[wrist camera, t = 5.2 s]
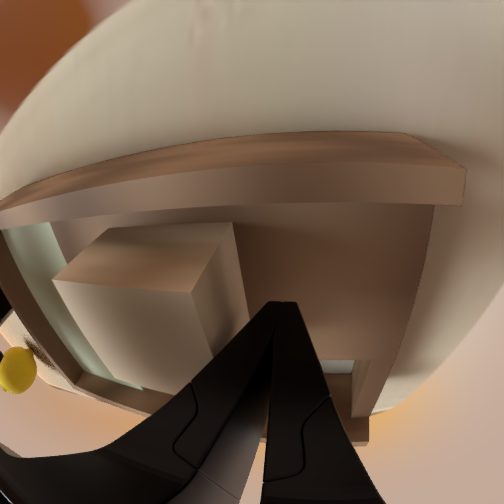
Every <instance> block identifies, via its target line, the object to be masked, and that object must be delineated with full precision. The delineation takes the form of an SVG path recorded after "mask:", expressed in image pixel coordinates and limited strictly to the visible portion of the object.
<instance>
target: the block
mask: <svg viewBox="0 0 504 504" xmlns="http://www.w3.org/2000/svg"><path fill="white" fill-rule="evenodd" d="M52 281H53V283H54V285H55V287H56V288H57V290H58V292H59V294H60V296H61V298H62V299H63V301H64V303H65V305H66V306H67V308H68V310H69V312H70V313H71V315H72V317H73V318H74V320H75V321H76V323H77V325H78V326H79V328H80V329H81V331H82V333H83V334H84V336H85V337H86V339H87V340H88V342H89V343H90V345H91V346H92V348H93V349H94V350H95V352H96V353H97V355H98V356H99V358H100V359H101V360H102V362H103V363H104V364H105V366H106V367H107V368H108V370H109V371H110V372H111V374H112V375H113V376H114V378H115V379H118V380H121V381H124V382H128V383H131V384H134V385H138V386H141V387H145V388H149V389H152V390H156V391H160V392H164V393H168V394H172V395H176V394H177V393H178V392H179V391H180V390H181V389H182V388H183V387H184V386H185V385H186V384H187V383H188V382H191V380H192V379H193V378H194V377H195V376H196V375H197V374H198V373H199V372H200V371H201V370H202V369H203V368H204V367H205V366H206V365H207V364H208V363H209V362H210V361H211V360H212V359H213V358H214V357H215V356H216V355H217V354H218V353H219V352H220V351H221V350H222V349H223V348H224V347H225V346H226V345H227V344H228V342H229V341H230V340H231V339H232V338H233V337H234V336H235V335H236V334H237V333H238V332H239V331H240V330H241V329H242V328H243V327H244V326H245V325H246V324H247V323H248V322H249V321H250V318H249V313H248V308H247V302H246V297H245V292H244V286H243V281H242V275H241V270H240V264H239V258H238V253H237V247H236V242H235V236H234V230H233V225H232V222H217V223H191V224H169V225H150V226H133V227H117V228H108V229H107V230H106V231H104V232H103V233H102V234H101V235H100V236H99V237H97V238H96V239H95V240H94V241H93V242H92V243H91V244H89V245H88V246H87V247H86V248H85V249H84V250H83V251H82V252H80V253H79V254H78V255H77V256H76V257H75V258H74V259H73V260H72V261H71V262H70V263H69V264H67V265H66V266H65V267H64V268H63V269H62V270H61V271H60V272H59V273H58V274H57V275H56V276H55V277H54V278H53V279H52Z"/></svg>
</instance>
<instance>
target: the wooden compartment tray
mask: <svg viewBox="0 0 504 504" xmlns="http://www.w3.org/2000/svg"><path fill="white" fill-rule="evenodd" d="M465 177H466V169H465V168H463V167H462V166H460V165H459V164H457V163H456V162H454V161H452V160H451V159H449V158H448V157H446V156H444V155H443V154H441V153H439V152H438V151H436V150H434V149H433V148H431V147H429V146H427V145H426V144H424V143H422V142H420V141H418V140H417V139H415V138H413V137H411V136H409V135H407V134H405V133H391V132H369V131H312V132H289V133H273V134H261V135H250V136H240V137H231V138H223V139H215V140H208V141H201V142H194V143H188V144H182V145H176V146H171V147H165V148H160V149H155V150H150V151H145V152H140V153H136V154H131V155H127V156H123V157H119V158H115V159H111V160H107V161H103V162H99V163H95V164H92V165H88V166H85V167H81V168H78V169H75V170H71V171H68V172H65V173H62V174H59V175H56V176H53V177H50V178H47V179H44V180H41V181H38V182H35V183H33V184H30V185H27V186H25V187H22V188H20V189H19V190H17V191H15V192H14V193H12V194H10V195H9V196H7V197H5V198H4V199H2V200H1V201H0V287H1V289H2V291H3V292H4V294H5V296H6V298H7V299H8V301H9V303H10V304H11V306H12V308H13V309H14V311H15V312H16V314H17V316H18V317H19V319H20V320H21V322H22V323H23V325H24V326H25V328H26V329H27V331H28V332H29V333H30V335H31V336H32V338H33V339H34V340H35V342H36V343H37V345H38V346H39V347H40V349H41V350H42V351H43V352H44V354H45V355H46V356H47V358H48V359H49V360H50V361H51V363H52V364H53V365H54V366H55V367H56V369H57V370H58V371H59V372H60V373H61V375H62V376H63V377H64V378H65V379H66V380H67V381H68V383H69V384H70V385H71V386H72V387H73V388H74V389H76V390H78V391H80V392H83V393H85V394H87V395H89V396H92V397H94V398H96V399H99V400H101V401H104V402H106V403H108V404H111V405H114V406H116V407H119V408H122V409H125V410H127V411H130V412H133V413H136V414H139V415H142V416H145V417H149V416H151V415H152V414H153V413H154V412H156V411H157V410H158V409H159V408H161V407H162V406H163V405H165V404H166V403H167V402H168V401H169V400H170V399H171V398H172V397H174V396H175V395H172V394H168V393H164V392H160V391H156V390H152V389H149V388H145V387H141V386H138V385H134V384H131V383H128V382H124V381H121V380H118V379H115V378H114V376H113V375H112V374H111V372H110V371H109V370H108V368H107V367H106V366H105V364H104V363H103V362H102V360H101V359H100V358H99V356H98V355H97V353H96V352H95V350H94V349H93V348H92V346H91V345H90V343H89V342H88V340H87V339H86V337H85V336H84V334H83V333H82V331H81V329H80V328H79V326H78V325H77V323H76V321H75V320H74V318H73V317H72V315H71V313H70V312H69V310H68V308H67V306H66V305H65V303H64V301H63V299H62V298H61V296H60V294H59V292H58V290H57V288H56V287H55V285H54V283H53V281H52V279H53V278H54V277H55V276H56V275H57V274H58V273H59V272H60V271H61V270H62V269H63V268H64V267H65V266H66V265H67V264H69V263H70V262H71V261H72V260H73V259H74V258H75V257H76V256H77V255H78V254H79V253H80V252H82V251H83V250H84V249H85V248H86V247H87V246H88V245H89V244H91V243H92V242H93V241H94V240H95V239H96V238H97V237H99V236H100V235H101V234H102V233H103V232H104V231H106V230H107V229H108V228H117V227H133V226H150V225H169V224H191V223H217V222H232V225H233V230H234V236H235V242H236V247H237V253H238V258H239V264H240V270H241V275H242V281H243V286H244V292H245V297H246V302H247V308H248V313H249V318H250V320H251V319H252V317H253V316H254V315H255V314H256V313H257V312H258V311H259V310H260V309H261V308H262V307H263V306H264V305H265V304H266V303H267V302H268V301H282V302H283V301H295V302H297V304H298V306H299V309H300V311H301V314H302V317H303V319H304V322H305V324H306V327H307V330H308V332H309V335H310V338H311V340H312V343H313V346H314V348H315V351H316V354H317V357H318V359H319V360H355V361H354V365H353V370H352V374H324V376H325V378H326V381H327V384H328V387H329V390H330V392H331V397H333V400H334V403H335V406H336V409H337V411H338V414H339V416H340V419H341V421H342V424H343V426H344V428H345V431H346V433H347V435H348V437H349V439H350V441H351V443H352V445H353V447H356V446H366V445H367V444H368V442H369V416H370V414H371V412H372V410H373V408H374V406H375V404H376V402H377V400H378V398H379V395H380V393H381V391H382V389H383V387H384V384H385V382H386V380H387V377H388V375H389V372H390V370H391V368H392V365H393V363H394V360H395V357H396V355H397V352H398V349H399V347H400V344H401V341H402V338H403V335H404V332H405V329H406V326H407V323H408V320H409V317H410V314H411V311H412V307H413V304H414V300H415V297H416V293H417V289H418V286H419V282H420V278H421V274H422V270H423V265H424V261H425V256H426V251H427V246H428V241H429V236H430V230H431V224H432V218H433V211H434V204H435V205H454V206H462V200H463V193H464V185H465ZM267 426H268V416H267V419H266V423H265V426H264V429H263V433H262V436H261V439H260V442H263V443H266V438H267Z"/></svg>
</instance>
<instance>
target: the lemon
mask: <svg viewBox="0 0 504 504" xmlns="http://www.w3.org/2000/svg"><path fill="white" fill-rule="evenodd" d="M36 373H37V366H36V362H35V360H34V357H33V351H32V350H31V349H24V348H22V347H13V348H10V349H9V350H7V351H6V352H5V353H4V357H3V359H2V361H1V363H0V383H1V387H2V389H3V390H4V391H5V392H6V391H8V392H10V393H14V394H19V393H22V392H24V391H26V390H27V389H28V388H29V387H30V386H31V385H32V383H33V382H34V380H35V376H36Z"/></svg>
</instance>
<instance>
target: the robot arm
mask: <svg viewBox="0 0 504 504" xmlns="http://www.w3.org/2000/svg"><path fill="white" fill-rule="evenodd" d="M13 311H14V309H13V308H12V306H11V304H10V303H9V301H8V299H7V298H6V296H5V294H4V292H3V291H2V289H1V287H0V326H1V325H2V324H3V323H4V322H5V320H6V319H7V318H8V317H9V316H10V315H11V314H12V313H13ZM3 357H4V355H3V354H2V352H1V351H0V363H1V361H2V359H3ZM267 416H268V426H267V438H266V451H265V462H264V473H263V482H264V483H263V485H262V494H261V502H260V504H386V503H385V501H384V500H383V499H382V497H381V496H380V494H379V493H378V491H377V489H376V488H375V486H374V484H373V482H372V480H371V479H370V477H369V475H368V473H367V471H366V469H365V467H364V466H363V464H362V462H361V460H360V458H359V456H358V454H357V453H356V451H355V449H354V447H353V445H352V443H351V441H350V439H349V437H348V435H347V433H346V431H345V428H344V426H343V424H342V421H341V419H340V416H339V414H338V411H337V409H336V406H335V403H334V400H333V397H331V392H330V390H329V387H328V384H327V381H326V378H325V376H324V373H323V370H322V367H321V365H320V362H319V359H318V357H317V354H316V351H315V348H314V346H313V343H312V340H311V338H310V335H309V332H308V330H307V327H306V324H305V322H304V319H303V317H302V314H301V311H300V309H299V306H298V304H297V302H295V301H283V302H282V301H268V302H267V303H266V304H265V305H264V306H263V307H262V308H261V309H260V310H259V311H258V312H257V313H256V314H255V315H254V316H253V317H252V319H251V320H250V321H249V322H248V323H247V324H246V325H245V326H244V327H243V328H242V329H241V330H240V331H239V332H238V333H237V334H236V335H235V336H234V337H233V338H232V339H231V340H230V341H229V342H228V344H227V345H226V346H225V347H224V348H223V349H222V350H221V351H220V352H219V353H218V354H217V355H216V356H215V357H214V358H213V359H212V360H211V361H210V362H209V363H208V364H207V365H206V366H205V367H204V368H203V369H202V370H201V371H200V372H199V373H198V374H197V375H196V376H195V377H194V378H193V379H192V380H191V382H188V383H187V384H186V385H185V386H184V387H183V388H182V389H181V390H180V391H179V392H178V393H177V394H176V395H175V396H174V397H172V398H171V399H170V400H169V401H168V402H167V403H166V404H165V405H163V406H162V407H161V408H159V409H158V410H157V411H156V412H154V413H153V414H152V415H151V416H149V417H148V418H147V419H145V420H144V421H142V422H141V423H140V424H138V425H137V426H135V427H134V428H133V429H131V430H130V431H128V432H127V433H126V434H124V435H123V436H121V437H120V438H118V439H117V440H115V441H114V442H112V443H110V444H108V445H106V446H104V447H102V448H99V449H97V450H94V451H89V452H83V453H76V454H69V455H59V456H50V457H36V458H23V457H21V456H20V455H18V454H17V453H15V452H14V451H12V450H11V449H9V448H8V447H6V446H5V445H3V444H1V443H0V504H239V502H240V501H239V500H240V499H241V495H242V493H243V490H244V487H245V484H246V482H247V479H248V476H249V473H250V470H251V467H252V464H253V461H254V458H255V455H256V452H257V449H258V445H259V442H260V439H261V436H262V433H263V429H264V426H265V423H266V419H267Z"/></svg>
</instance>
